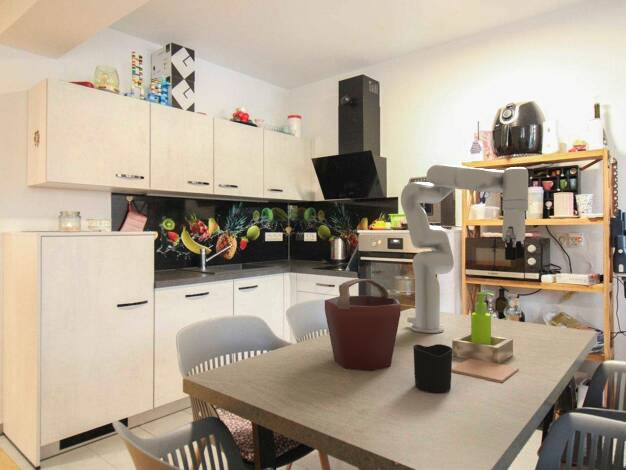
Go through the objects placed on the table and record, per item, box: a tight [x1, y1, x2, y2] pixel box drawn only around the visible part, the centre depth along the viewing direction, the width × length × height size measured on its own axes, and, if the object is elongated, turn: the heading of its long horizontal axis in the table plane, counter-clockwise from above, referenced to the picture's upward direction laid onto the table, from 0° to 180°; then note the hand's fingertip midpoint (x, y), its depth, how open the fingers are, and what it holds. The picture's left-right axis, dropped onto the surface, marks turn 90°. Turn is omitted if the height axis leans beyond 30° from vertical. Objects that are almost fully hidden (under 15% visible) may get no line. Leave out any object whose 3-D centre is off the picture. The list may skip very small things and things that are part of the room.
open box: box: [451, 332, 514, 364], centre depth 137 cm, size 14×14×5 cm
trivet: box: [451, 359, 520, 383], centre depth 121 cm, size 14×14×1 cm
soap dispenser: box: [470, 291, 495, 345], centre depth 137 cm, size 6×7×20 cm
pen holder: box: [412, 343, 453, 394], centre depth 108 cm, size 9×9×10 cm
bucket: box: [324, 278, 401, 372], centre depth 130 cm, size 24×22×25 cm
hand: (514, 259), depth 140 cm, fingers open, 9 cm apart
